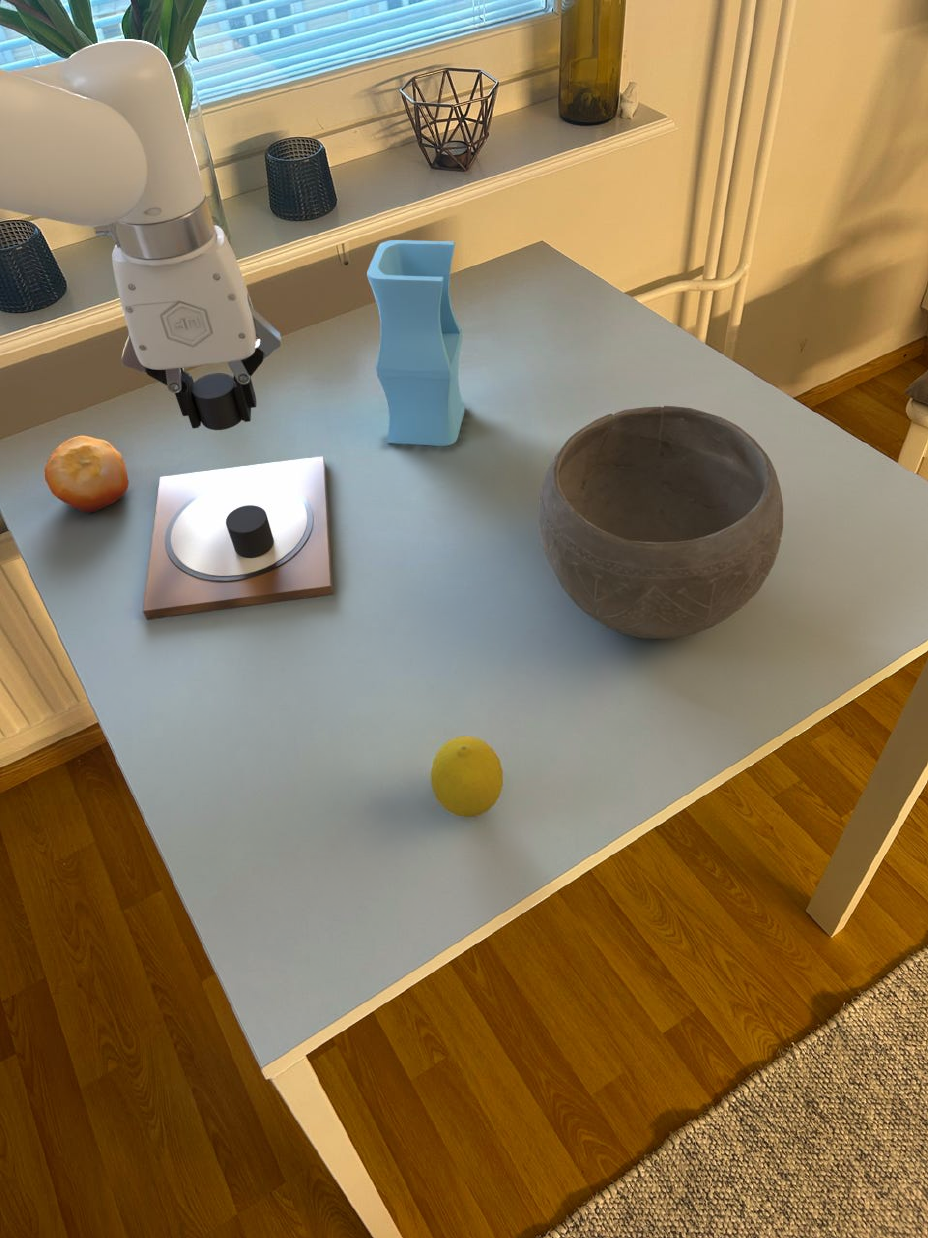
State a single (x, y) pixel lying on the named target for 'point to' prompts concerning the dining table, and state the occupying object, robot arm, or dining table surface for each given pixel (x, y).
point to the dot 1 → (216, 401)
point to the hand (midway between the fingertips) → (222, 414)
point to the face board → (204, 553)
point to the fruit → (86, 473)
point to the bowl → (661, 520)
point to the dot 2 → (250, 531)
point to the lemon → (466, 776)
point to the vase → (418, 341)
